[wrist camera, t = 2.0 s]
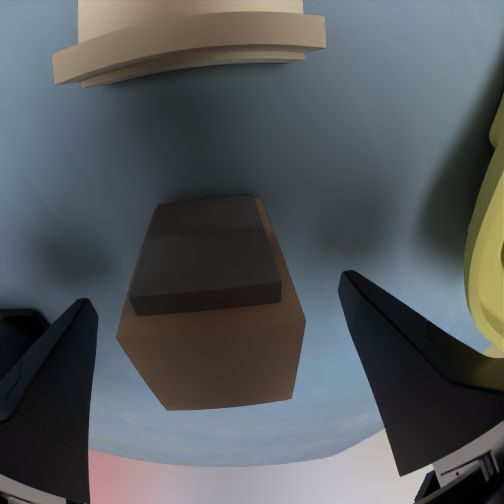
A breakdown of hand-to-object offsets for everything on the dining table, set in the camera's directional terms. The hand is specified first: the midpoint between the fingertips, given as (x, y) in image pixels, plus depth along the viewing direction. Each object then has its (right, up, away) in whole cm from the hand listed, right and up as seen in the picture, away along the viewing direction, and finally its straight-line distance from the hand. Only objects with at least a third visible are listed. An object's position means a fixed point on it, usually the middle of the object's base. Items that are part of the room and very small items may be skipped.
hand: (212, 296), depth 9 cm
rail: (-1, +14, -7) cm, 16 cm away
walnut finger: (0, +2, +2) cm, 3 cm away
